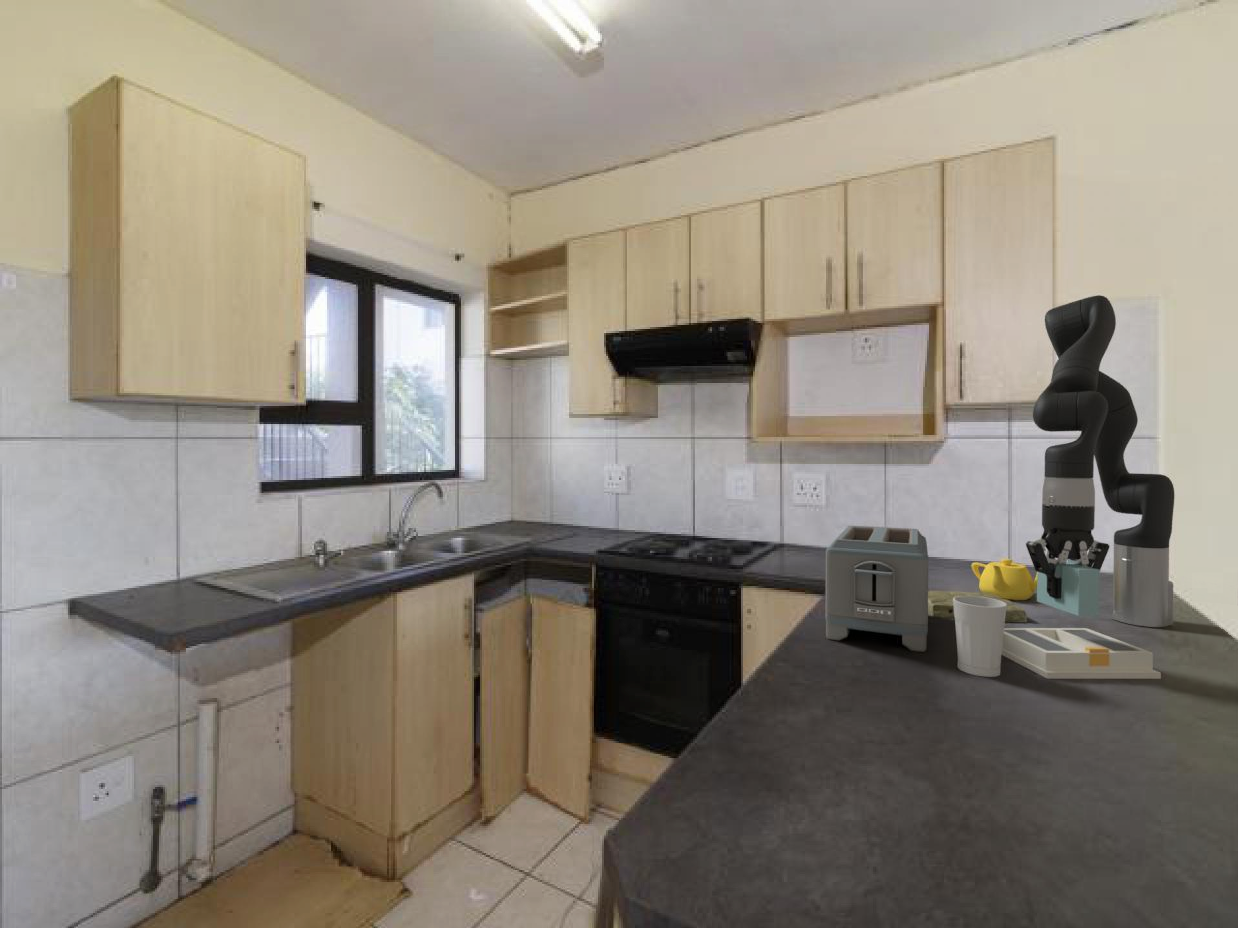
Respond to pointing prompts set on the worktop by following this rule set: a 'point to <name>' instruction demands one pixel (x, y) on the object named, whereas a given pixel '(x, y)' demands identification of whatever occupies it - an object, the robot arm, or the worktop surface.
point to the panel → (1073, 590)
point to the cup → (979, 634)
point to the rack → (1076, 654)
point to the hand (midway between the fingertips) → (1066, 597)
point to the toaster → (878, 584)
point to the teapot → (1006, 580)
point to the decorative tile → (943, 600)
